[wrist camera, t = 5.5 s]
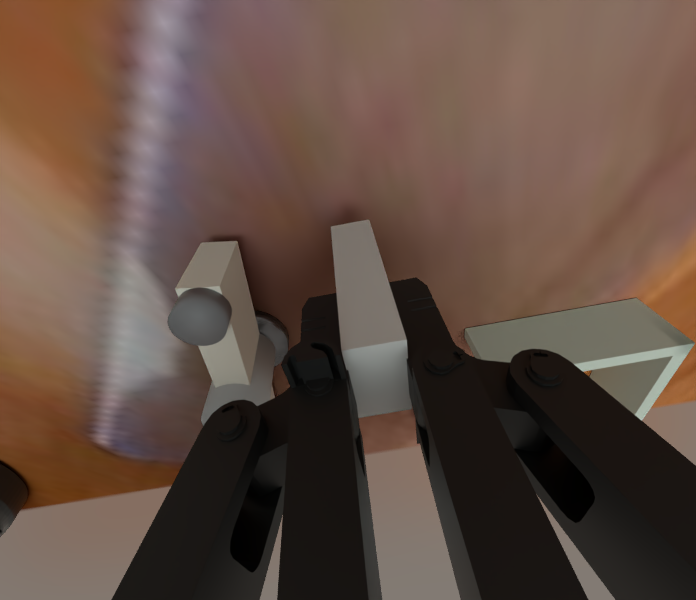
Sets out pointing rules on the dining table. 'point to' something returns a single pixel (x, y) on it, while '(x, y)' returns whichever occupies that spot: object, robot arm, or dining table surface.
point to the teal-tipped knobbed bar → (223, 327)
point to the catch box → (597, 346)
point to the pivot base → (273, 334)
